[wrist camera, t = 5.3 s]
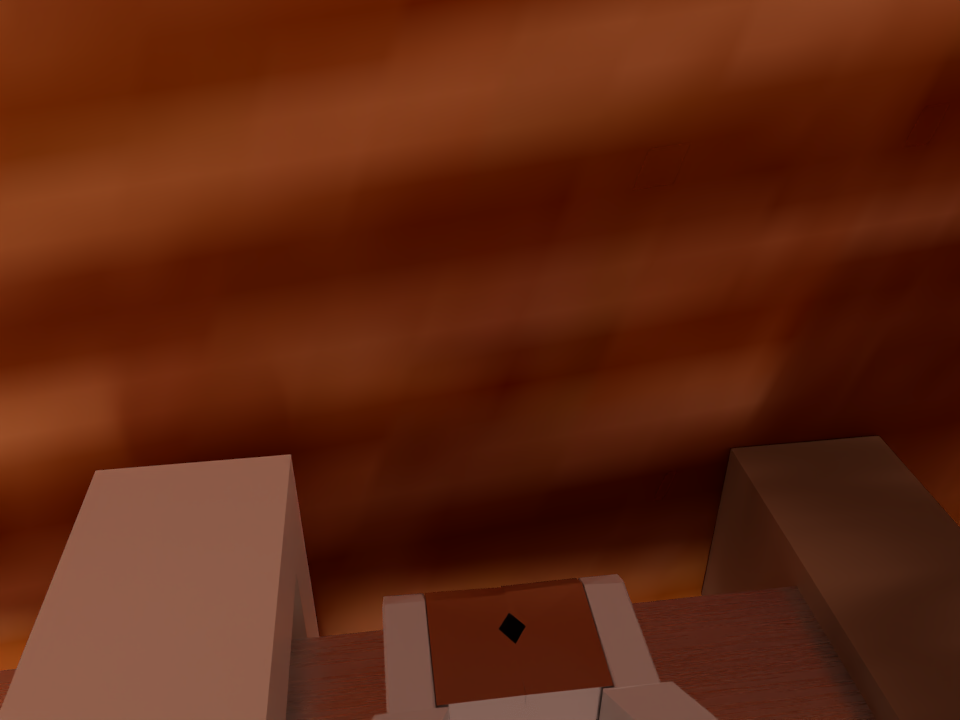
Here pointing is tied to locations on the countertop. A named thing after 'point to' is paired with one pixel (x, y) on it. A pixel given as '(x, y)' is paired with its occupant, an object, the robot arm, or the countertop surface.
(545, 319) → the countertop surface
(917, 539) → the posts
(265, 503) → the collar
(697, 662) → the steel rail
